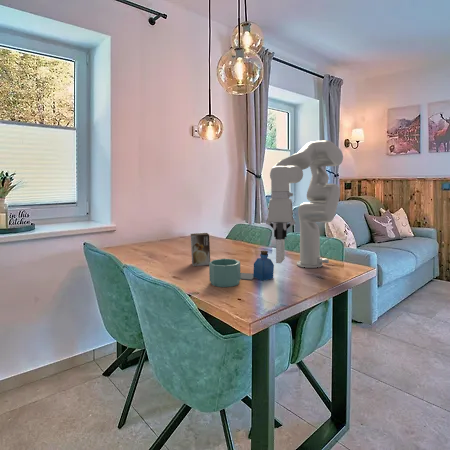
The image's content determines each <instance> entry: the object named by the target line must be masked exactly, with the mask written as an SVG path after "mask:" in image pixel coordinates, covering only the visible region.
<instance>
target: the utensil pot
mask: <svg viewBox="0 0 450 450" xmlns="http://www.w3.org/2000/svg"><path fill="white" fill-rule="evenodd" d="M208 266H209V267H208V269H209V271H208V272H209V273H208V275H209V276H208V277H209V283H210V284H211V286H214V287H218V288H232V287H235V286H238V285H240V281H242V279H241V275H240V273H241V261H240V260H237V259H235V258H219V259H218V258H217V259H213V260H210V262H209V265H208Z"/></svg>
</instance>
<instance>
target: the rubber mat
mask: <svg viewBox="0 0 450 450" xmlns="http://www.w3.org/2000/svg"><path fill="white" fill-rule="evenodd" d="M240 275H241V281H242V280H243V281H244V280H245V281H253V280H254V279H255V277H253V273H251V272H250V273H248V272H240Z"/></svg>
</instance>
